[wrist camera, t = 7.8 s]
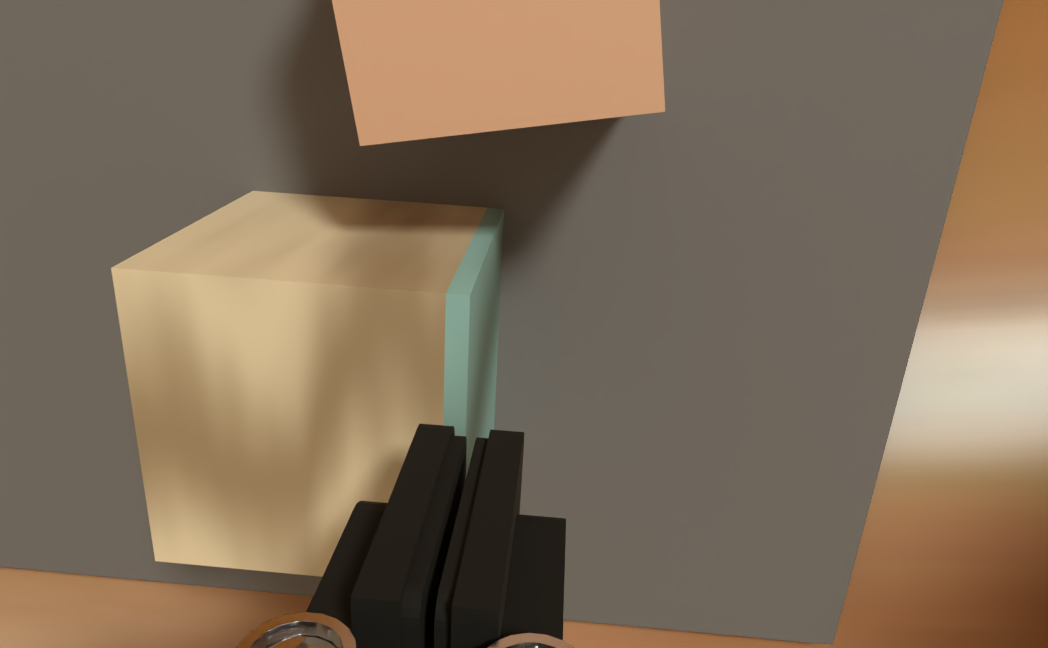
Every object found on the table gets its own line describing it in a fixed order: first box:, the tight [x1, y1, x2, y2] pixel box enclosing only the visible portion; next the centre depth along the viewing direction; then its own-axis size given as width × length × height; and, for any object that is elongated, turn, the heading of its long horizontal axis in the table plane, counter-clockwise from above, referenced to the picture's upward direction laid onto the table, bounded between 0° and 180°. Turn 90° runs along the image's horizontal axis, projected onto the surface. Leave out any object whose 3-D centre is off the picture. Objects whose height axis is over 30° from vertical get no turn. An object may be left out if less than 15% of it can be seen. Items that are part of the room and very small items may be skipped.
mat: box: [0, 0, 1003, 645], centre depth 20 cm, size 18×28×1 cm, turn 87°
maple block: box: [111, 191, 504, 577], centre depth 17 cm, size 6×6×6 cm
